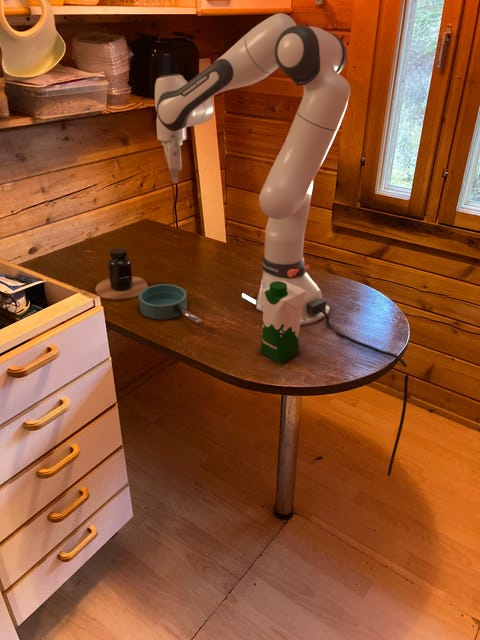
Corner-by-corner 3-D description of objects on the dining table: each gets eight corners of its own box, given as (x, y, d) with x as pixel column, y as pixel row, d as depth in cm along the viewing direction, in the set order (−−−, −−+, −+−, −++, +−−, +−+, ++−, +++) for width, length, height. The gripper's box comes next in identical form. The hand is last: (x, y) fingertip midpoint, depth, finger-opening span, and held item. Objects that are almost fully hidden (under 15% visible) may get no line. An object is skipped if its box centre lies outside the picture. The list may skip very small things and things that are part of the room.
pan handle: (203, 325, 137) (203, 319, 136) (197, 328, 135) (197, 321, 134) (177, 308, 144) (177, 302, 143) (172, 310, 143) (171, 304, 142)
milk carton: (254, 352, 130) (257, 281, 120) (278, 339, 135) (283, 270, 125) (280, 367, 124) (285, 294, 114) (304, 353, 130) (311, 282, 120)
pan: (196, 310, 148) (195, 296, 146) (156, 325, 140) (155, 311, 138) (170, 293, 157) (169, 280, 155) (131, 306, 149) (129, 293, 147)
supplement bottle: (125, 293, 155) (121, 256, 149) (106, 289, 157) (101, 253, 151) (137, 284, 161) (133, 248, 155) (118, 280, 163) (114, 245, 157)
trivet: (157, 289, 159) (157, 288, 158) (111, 305, 150) (110, 303, 149) (131, 272, 169) (131, 271, 169) (86, 286, 160) (86, 284, 160)
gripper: (185, 139, 147) (187, 187, 154) (179, 126, 164) (181, 170, 171) (163, 140, 146) (166, 188, 153) (159, 127, 163) (162, 170, 170)
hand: (173, 178), depth 162 cm, fingers open, 8 cm apart
